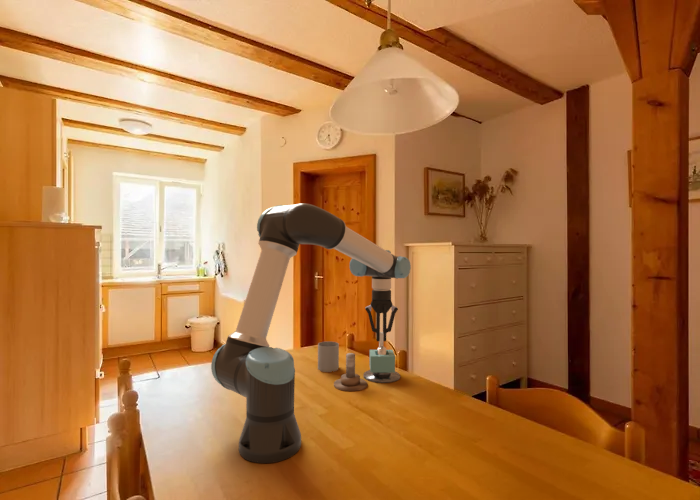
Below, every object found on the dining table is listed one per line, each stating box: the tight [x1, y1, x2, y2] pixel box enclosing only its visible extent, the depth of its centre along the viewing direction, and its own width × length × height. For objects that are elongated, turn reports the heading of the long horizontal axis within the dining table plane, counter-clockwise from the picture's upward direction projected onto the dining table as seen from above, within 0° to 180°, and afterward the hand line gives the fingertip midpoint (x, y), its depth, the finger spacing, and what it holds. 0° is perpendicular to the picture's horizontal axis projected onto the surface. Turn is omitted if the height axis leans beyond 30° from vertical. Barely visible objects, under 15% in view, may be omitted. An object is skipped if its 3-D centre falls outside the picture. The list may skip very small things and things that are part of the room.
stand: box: [333, 352, 368, 392], centre depth 137 cm, size 12×12×11 cm
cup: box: [317, 341, 340, 373], centre depth 155 cm, size 8×8×10 cm
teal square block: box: [369, 349, 396, 373], centre depth 146 cm, size 9×9×6 cm
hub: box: [363, 346, 401, 384], centre depth 146 cm, size 14×14×11 cm
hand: (381, 349), depth 149 cm, fingers closed
